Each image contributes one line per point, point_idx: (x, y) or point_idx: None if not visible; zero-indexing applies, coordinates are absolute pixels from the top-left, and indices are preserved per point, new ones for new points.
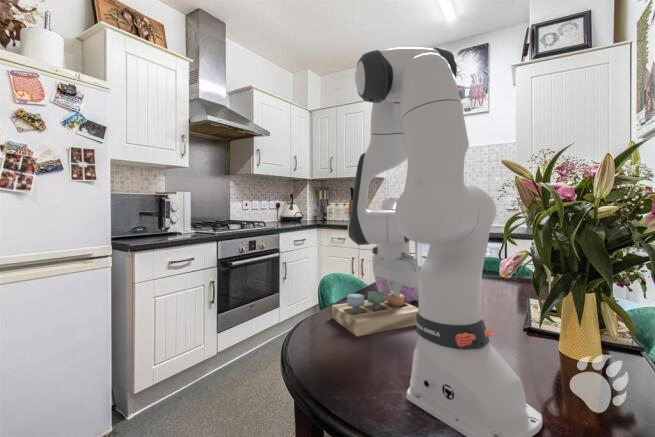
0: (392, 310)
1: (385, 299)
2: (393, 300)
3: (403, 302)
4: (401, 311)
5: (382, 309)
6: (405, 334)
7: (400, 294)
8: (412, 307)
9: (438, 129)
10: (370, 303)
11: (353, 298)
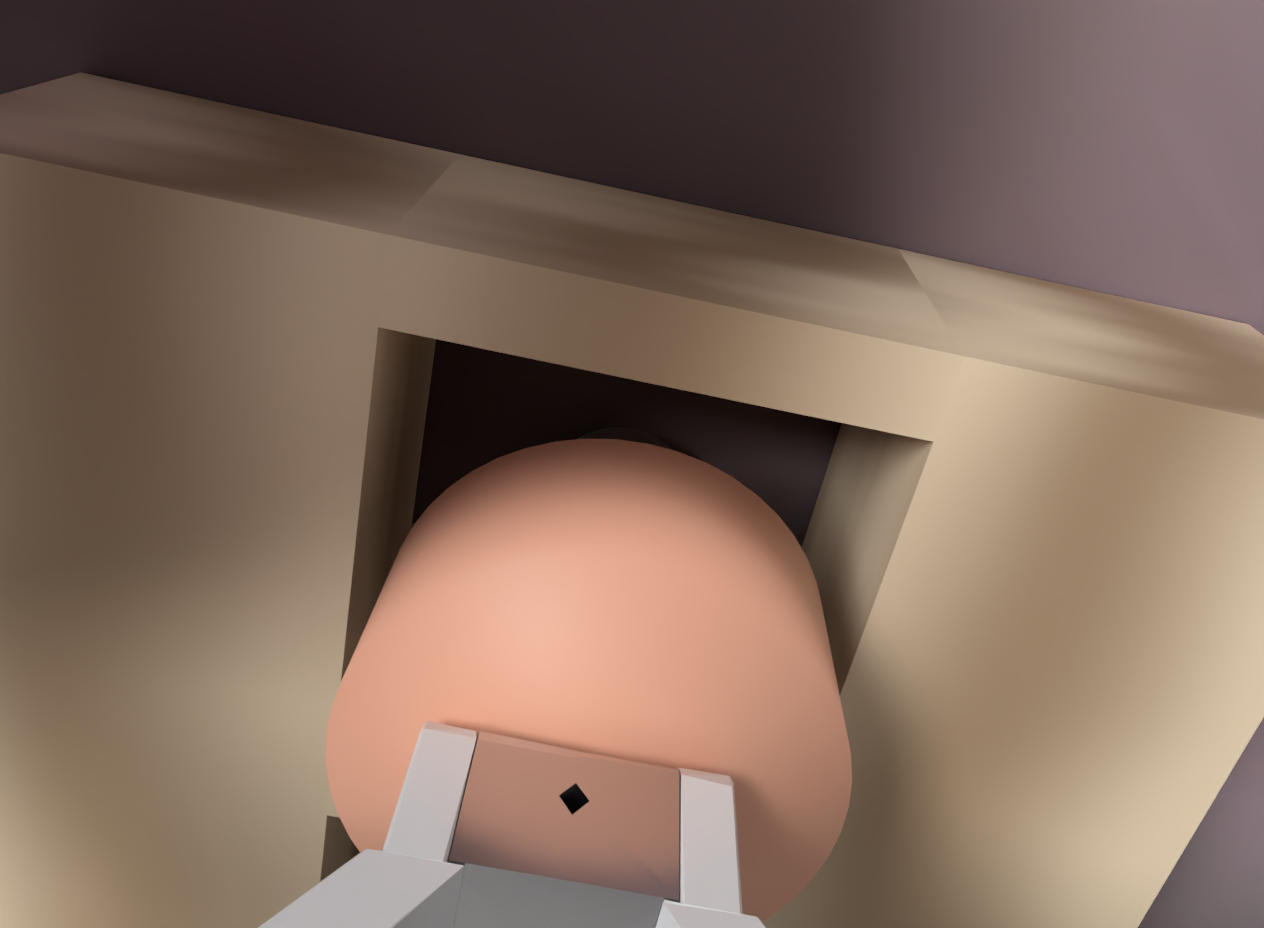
0: (858, 919)
1: (102, 502)
2: None
3: (815, 592)
4: (1038, 849)
5: None
6: (1233, 861)
7: (587, 591)
8: (1073, 484)
9: None
10: (217, 918)
11: None
